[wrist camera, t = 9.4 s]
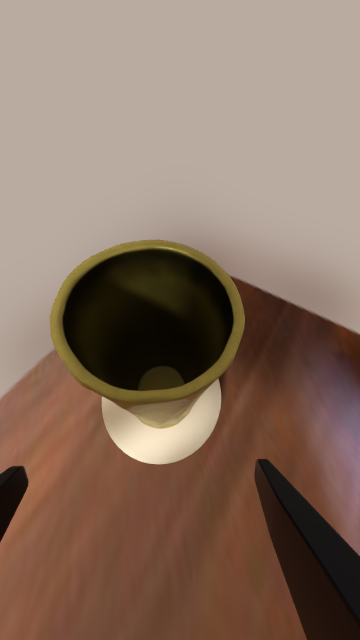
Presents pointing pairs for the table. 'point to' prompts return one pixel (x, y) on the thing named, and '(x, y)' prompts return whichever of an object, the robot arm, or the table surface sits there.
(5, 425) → the table surface
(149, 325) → the vase
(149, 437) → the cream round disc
